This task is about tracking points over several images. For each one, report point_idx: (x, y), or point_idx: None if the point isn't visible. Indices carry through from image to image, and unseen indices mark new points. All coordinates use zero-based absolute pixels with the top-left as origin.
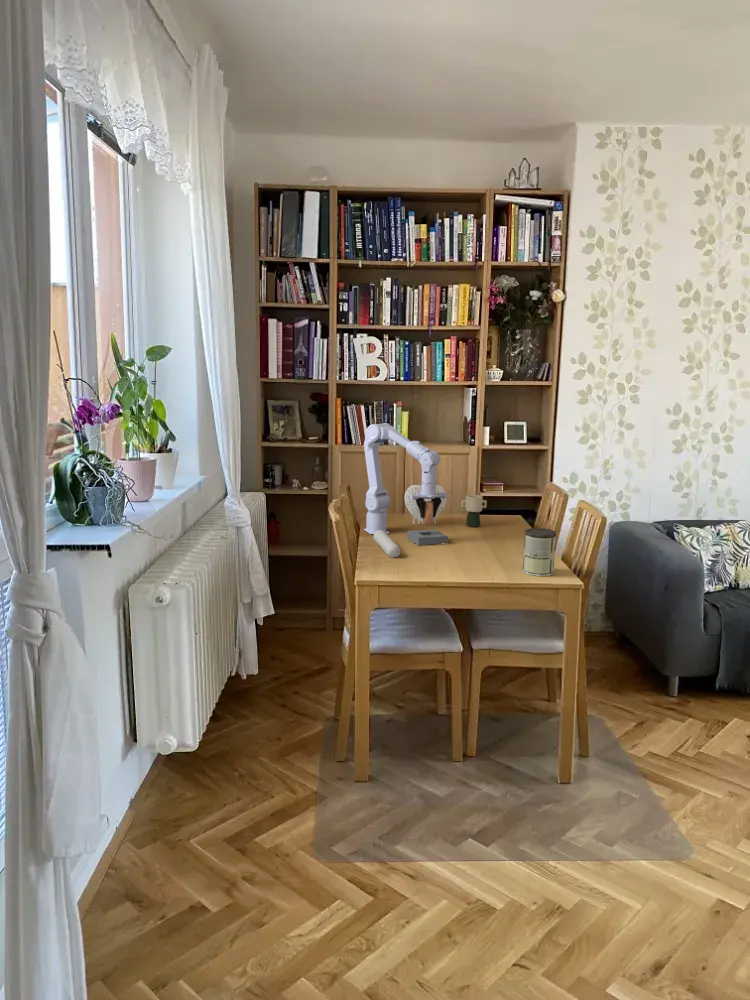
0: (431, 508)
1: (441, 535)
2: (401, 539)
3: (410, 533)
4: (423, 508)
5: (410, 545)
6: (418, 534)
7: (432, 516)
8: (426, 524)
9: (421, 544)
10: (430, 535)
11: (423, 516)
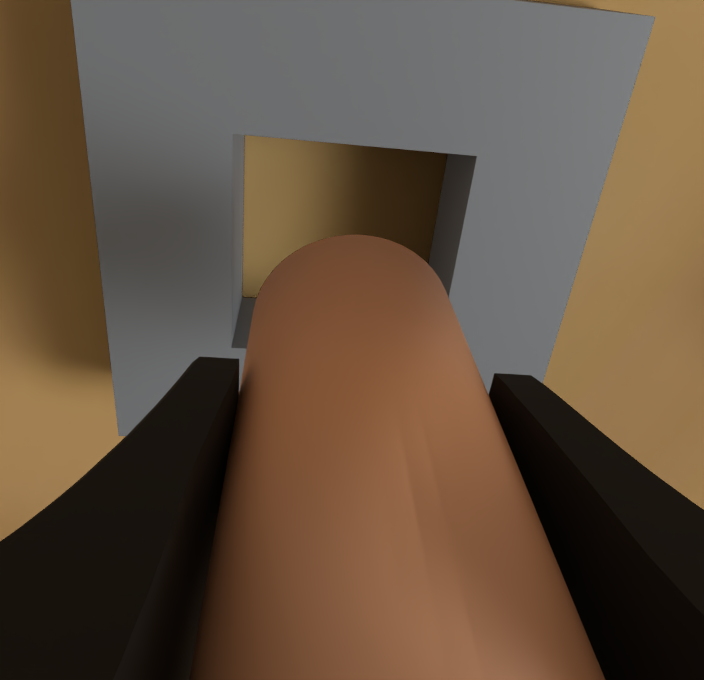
0: (354, 504)
1: (171, 50)
2: (577, 378)
3: (546, 356)
4: (684, 537)
5: (692, 63)
6: (507, 244)
7: (290, 348)
8: (425, 270)
9: (559, 4)
10: (364, 119)
11: (535, 388)
